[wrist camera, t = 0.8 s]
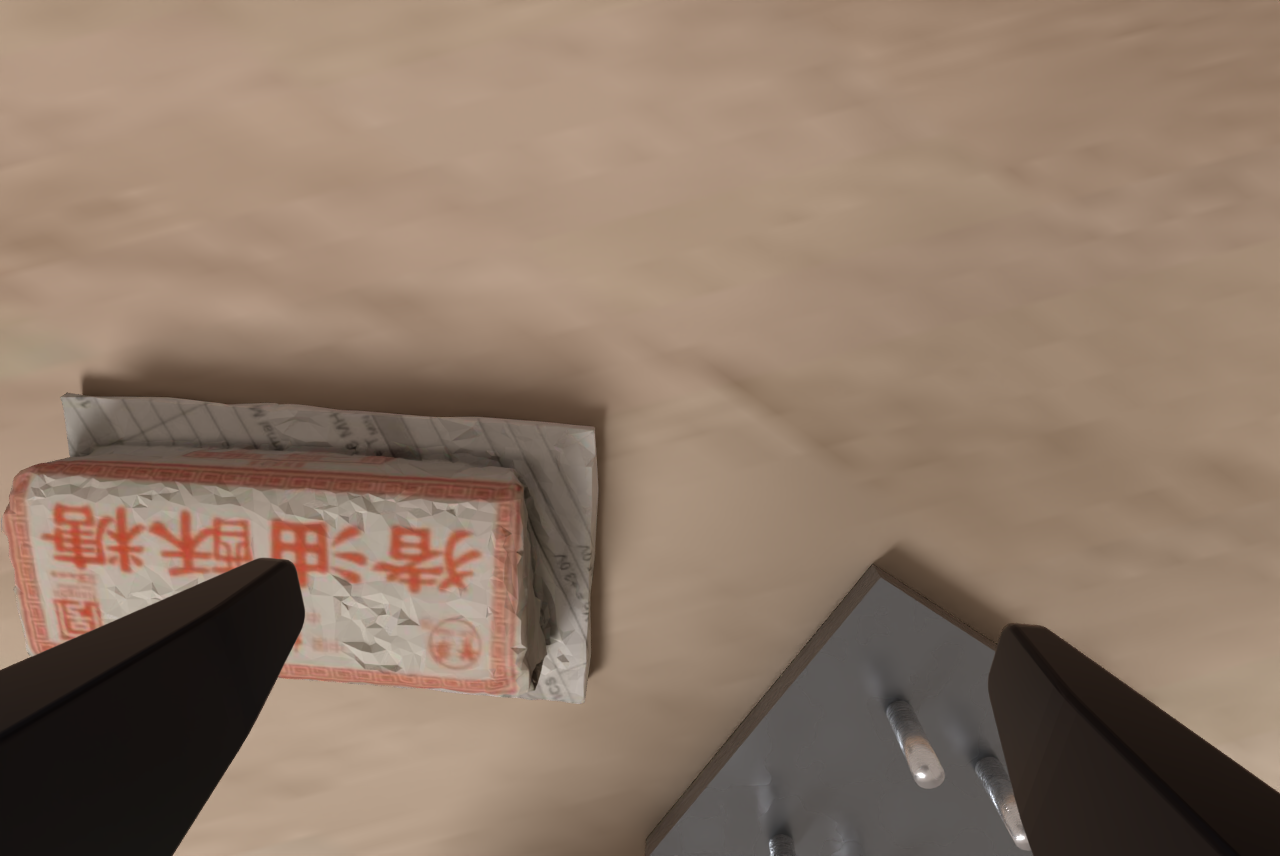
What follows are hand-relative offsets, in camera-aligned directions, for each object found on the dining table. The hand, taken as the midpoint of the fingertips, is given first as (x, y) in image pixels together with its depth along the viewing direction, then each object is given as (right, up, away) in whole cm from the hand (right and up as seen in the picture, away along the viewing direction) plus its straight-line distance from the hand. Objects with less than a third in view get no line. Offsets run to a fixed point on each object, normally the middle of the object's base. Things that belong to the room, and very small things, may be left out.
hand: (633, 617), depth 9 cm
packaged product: (-10, -2, +17) cm, 20 cm away
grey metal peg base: (+9, -11, +17) cm, 22 cm away
